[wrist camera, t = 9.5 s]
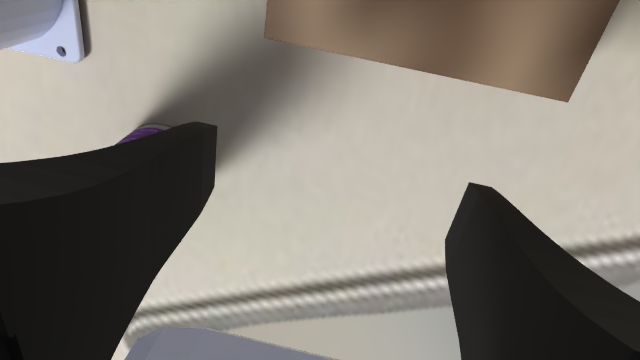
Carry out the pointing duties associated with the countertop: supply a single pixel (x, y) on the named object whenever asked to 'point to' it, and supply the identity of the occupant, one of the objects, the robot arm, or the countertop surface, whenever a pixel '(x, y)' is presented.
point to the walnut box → (456, 37)
